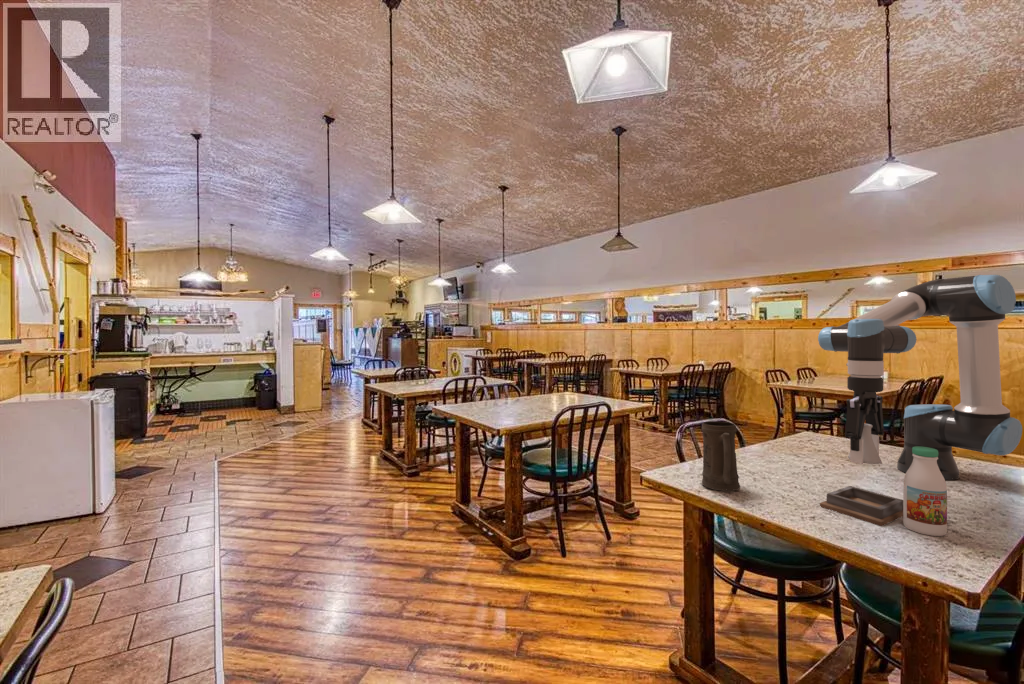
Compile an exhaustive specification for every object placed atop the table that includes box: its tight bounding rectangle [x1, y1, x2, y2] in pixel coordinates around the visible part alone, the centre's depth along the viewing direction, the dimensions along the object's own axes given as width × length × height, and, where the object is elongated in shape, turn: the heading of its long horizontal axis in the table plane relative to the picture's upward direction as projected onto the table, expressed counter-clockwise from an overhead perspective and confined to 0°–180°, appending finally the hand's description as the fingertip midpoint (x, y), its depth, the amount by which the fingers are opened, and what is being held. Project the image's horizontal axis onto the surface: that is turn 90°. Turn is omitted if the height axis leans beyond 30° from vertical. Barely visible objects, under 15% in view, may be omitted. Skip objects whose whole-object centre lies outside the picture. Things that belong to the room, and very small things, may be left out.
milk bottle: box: [902, 446, 948, 537], centre depth 105 cm, size 8×8×20 cm
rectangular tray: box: [819, 485, 903, 527], centre depth 118 cm, size 16×14×4 cm
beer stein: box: [701, 421, 741, 492], centre depth 134 cm, size 15×11×20 cm
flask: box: [847, 423, 883, 465], centre depth 117 cm, size 7×7×10 cm
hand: (864, 460), depth 117 cm, fingers closed on flask, 8 cm apart
